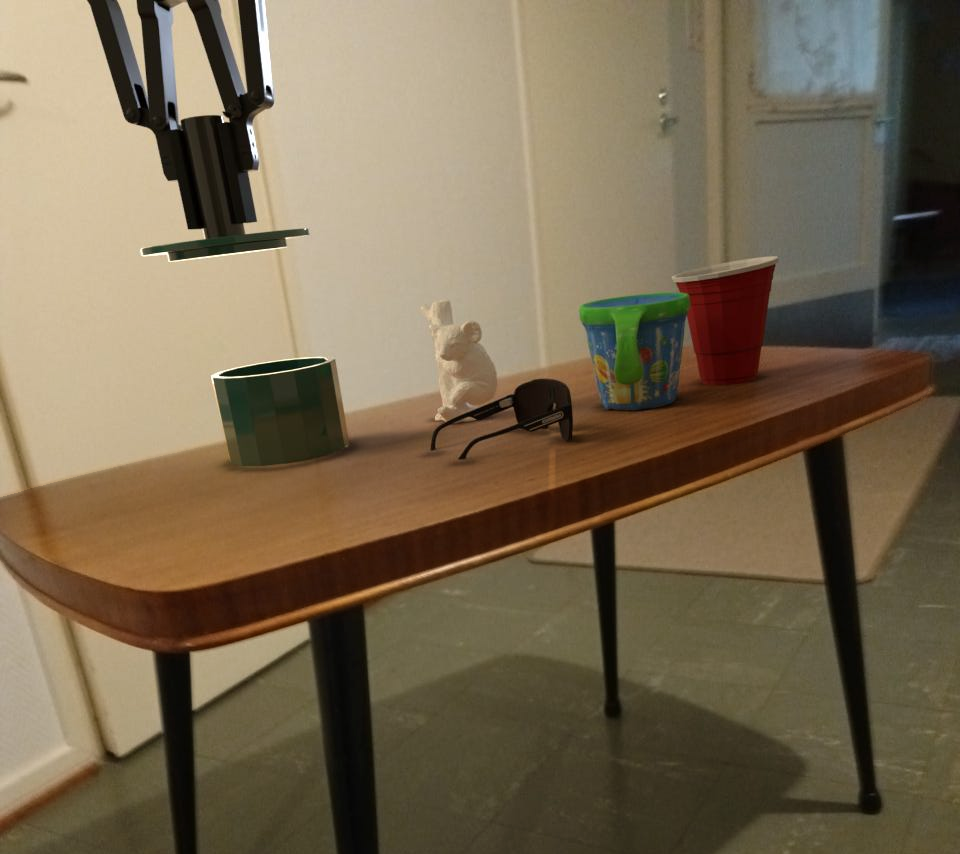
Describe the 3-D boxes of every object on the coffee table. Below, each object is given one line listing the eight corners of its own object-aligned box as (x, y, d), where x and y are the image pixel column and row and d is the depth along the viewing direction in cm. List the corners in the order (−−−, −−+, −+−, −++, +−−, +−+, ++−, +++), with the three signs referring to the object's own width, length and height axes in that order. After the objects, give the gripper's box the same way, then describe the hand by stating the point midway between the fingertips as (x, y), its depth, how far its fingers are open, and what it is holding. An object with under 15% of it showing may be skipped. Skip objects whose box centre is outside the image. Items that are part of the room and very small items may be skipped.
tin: (215, 476, 90) (194, 382, 87) (250, 450, 101) (233, 365, 98) (335, 464, 89) (319, 368, 86) (359, 439, 99) (345, 352, 96)
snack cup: (678, 419, 90) (674, 302, 86) (567, 424, 94) (558, 313, 90) (704, 388, 103) (701, 286, 99) (606, 394, 107) (599, 296, 103)
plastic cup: (665, 381, 111) (660, 268, 106) (760, 368, 111) (759, 255, 106) (689, 395, 100) (685, 271, 96) (794, 381, 101) (794, 257, 96)
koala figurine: (415, 423, 104) (398, 305, 99) (467, 411, 107) (453, 295, 103) (458, 430, 97) (442, 303, 93) (513, 417, 101) (500, 294, 96)
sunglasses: (595, 439, 85) (584, 382, 83) (475, 486, 81) (461, 427, 79) (534, 426, 94) (523, 374, 92) (424, 467, 90) (410, 414, 88)
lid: (115, 267, 69) (80, 122, 65) (180, 261, 80) (153, 137, 77) (286, 246, 67) (259, 96, 64) (327, 242, 78) (307, 114, 75)
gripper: (280, -165, 66) (339, 212, 75) (57, -124, 68) (140, 238, 77) (246, -209, 59) (315, 211, 68) (-1, -163, 61) (98, 239, 70)
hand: (222, 224), depth 73 cm, fingers closed on lid, 3 cm apart
